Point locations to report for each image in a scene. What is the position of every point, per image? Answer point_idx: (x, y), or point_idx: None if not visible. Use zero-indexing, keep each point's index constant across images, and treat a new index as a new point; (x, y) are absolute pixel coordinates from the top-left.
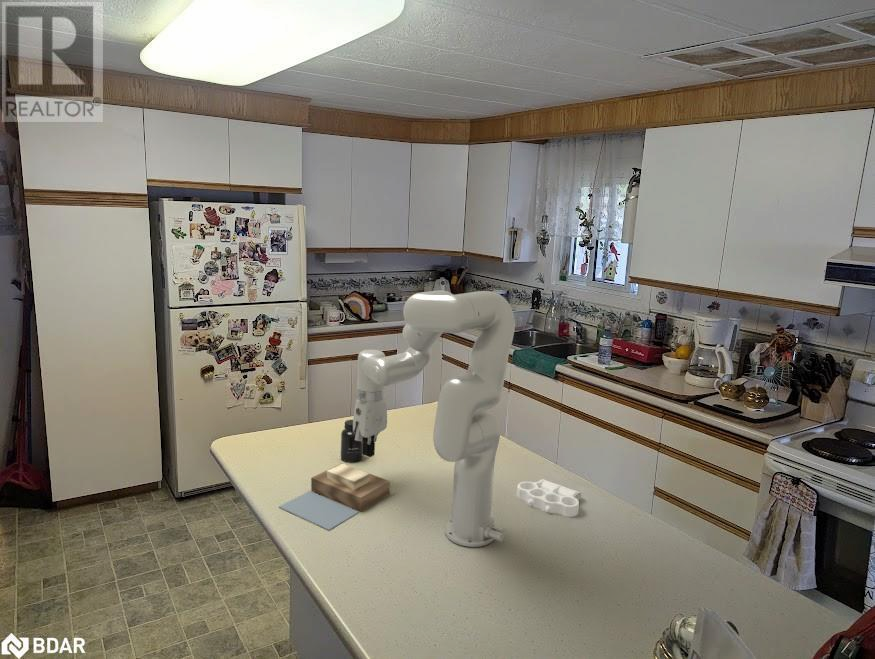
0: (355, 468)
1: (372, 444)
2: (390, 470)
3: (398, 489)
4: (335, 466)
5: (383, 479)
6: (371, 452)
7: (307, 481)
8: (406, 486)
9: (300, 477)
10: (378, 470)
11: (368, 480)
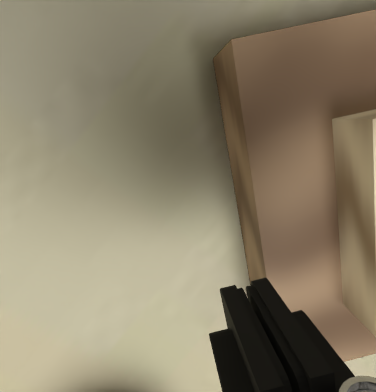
0: None
1: (285, 378)
2: (50, 259)
3: (140, 71)
4: None
5: (246, 88)
6: (274, 301)
7: (372, 354)
8: (83, 69)
9: None
10: (100, 289)
11: (345, 117)
